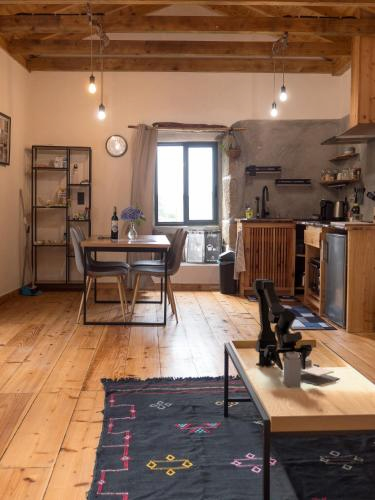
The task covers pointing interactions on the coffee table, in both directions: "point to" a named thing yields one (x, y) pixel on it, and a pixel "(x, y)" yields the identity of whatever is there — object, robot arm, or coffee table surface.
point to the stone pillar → (292, 370)
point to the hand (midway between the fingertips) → (293, 369)
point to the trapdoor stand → (317, 378)
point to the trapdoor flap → (314, 369)
